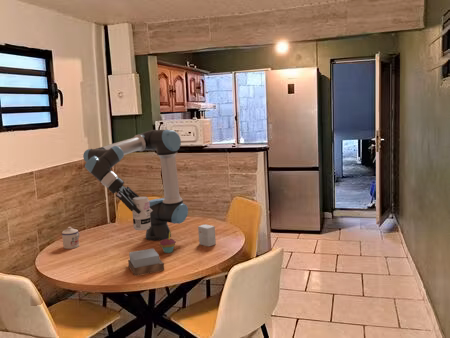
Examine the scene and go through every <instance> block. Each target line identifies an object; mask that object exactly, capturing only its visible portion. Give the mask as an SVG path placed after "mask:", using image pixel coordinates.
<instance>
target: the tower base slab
mask: <svg viewBox="0 0 450 338" xmlns="http://www.w3.org/2000/svg"><path fill="white" fill-rule="evenodd" d="M159 261H160V263H159V264H154V265H149V266H143V267H138V268H134V266H133V265H132V263H131V261H130V259H128V261H127V262H128V263H127V264H128V268H129V269H130V271H131V272H132V274H133V275H134V276H135V277H138V276H142V275H147V274H148V275H149V274H153V273H157V272H163V271H165V265H164V264H165V263H164V262H163V261H162V260H161V258H159Z"/></svg>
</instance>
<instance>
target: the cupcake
mask: <svg viewBox="0 0 450 338" xmlns="http://www.w3.org/2000/svg"><path fill="white" fill-rule="evenodd" d="M170 232H171V231H170ZM170 232H169V238H168V239H163V240H160V242H159V247H161V248H162V251H163V253H165V254H170V253H172V252H173V251H174V248H175V246H176V241H175V239H173V238H171V237H170Z"/></svg>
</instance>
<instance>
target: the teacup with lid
mask: <svg viewBox="0 0 450 338" xmlns="http://www.w3.org/2000/svg"><path fill="white" fill-rule="evenodd" d="M61 236H62V237H61V238H62V246H63V249H67V250H69V249H70V250H71V249H76V248H78V247H80V240H79V239H80V232H79V230H78V229H76V228H73V227H72V226H68V227H67V228H66V229H64V230H63V231H62V232H61Z"/></svg>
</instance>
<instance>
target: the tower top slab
mask: <svg viewBox="0 0 450 338" xmlns="http://www.w3.org/2000/svg"><path fill="white" fill-rule="evenodd" d="M128 258H129V260H130V261H131V263H132V265H133V266H134V268H138V267H143V266H149V265H154V264H159V263H160V261H159V259H160V255H159V253H158V252H157V251H156V250H155V248H154V247H152V248H146V249H141V250H135V251H130V252H129V257H128Z"/></svg>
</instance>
